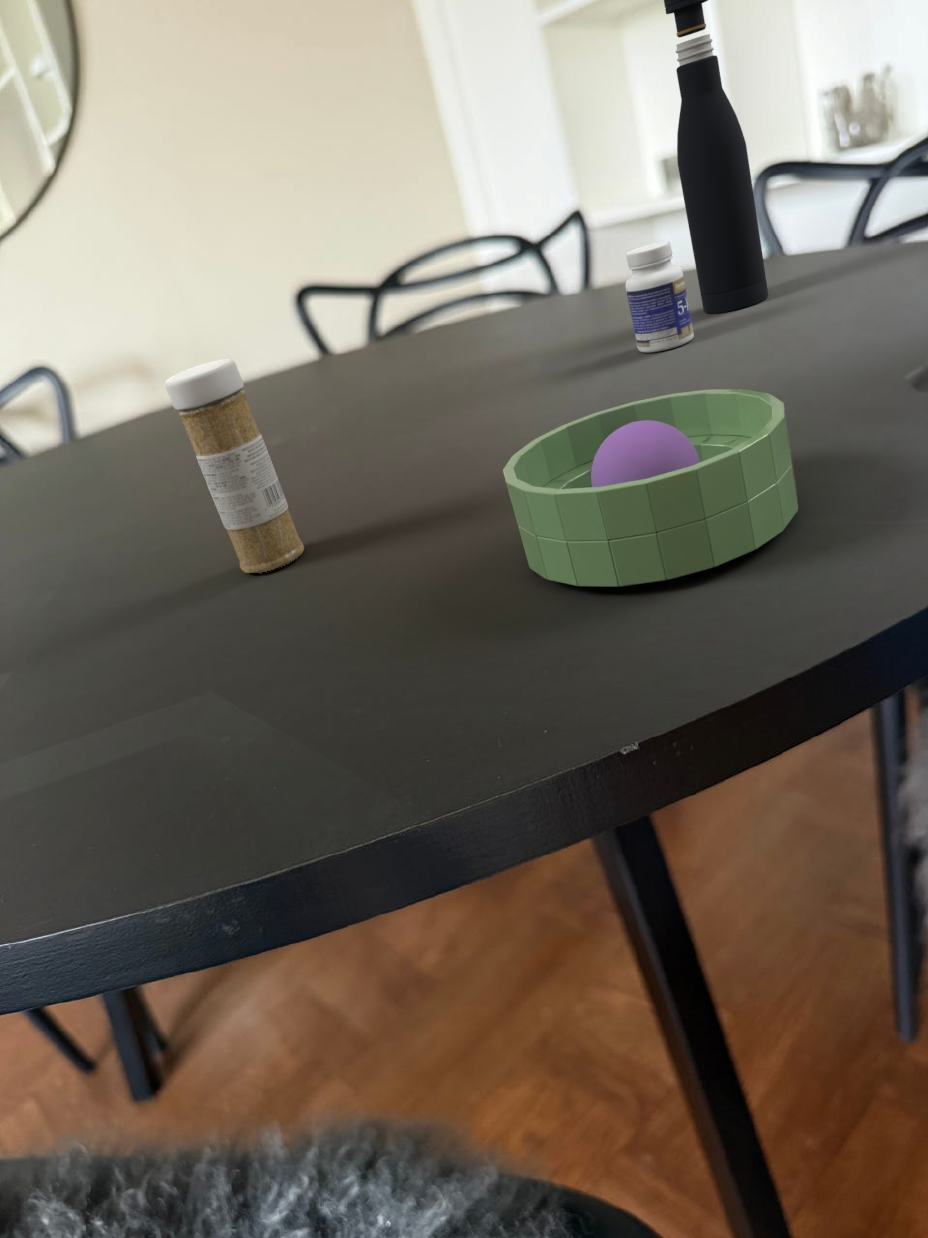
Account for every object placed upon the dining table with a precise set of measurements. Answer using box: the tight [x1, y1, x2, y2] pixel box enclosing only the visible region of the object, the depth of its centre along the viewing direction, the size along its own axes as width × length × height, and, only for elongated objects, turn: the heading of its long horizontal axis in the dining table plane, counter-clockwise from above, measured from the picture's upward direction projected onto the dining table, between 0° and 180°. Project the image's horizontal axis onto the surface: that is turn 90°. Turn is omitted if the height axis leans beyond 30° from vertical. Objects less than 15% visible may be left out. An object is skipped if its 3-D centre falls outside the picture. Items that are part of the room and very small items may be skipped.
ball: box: [591, 420, 700, 487], centre depth 51 cm, size 6×6×6 cm
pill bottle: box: [625, 240, 695, 354], centre depth 91 cm, size 5×5×9 cm
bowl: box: [502, 388, 799, 588], centre depth 51 cm, size 14×14×6 cm
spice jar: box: [164, 358, 305, 574], centre depth 64 cm, size 5×5×13 cm
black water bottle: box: [663, 0, 769, 315], centre depth 94 cm, size 6×6×30 cm
